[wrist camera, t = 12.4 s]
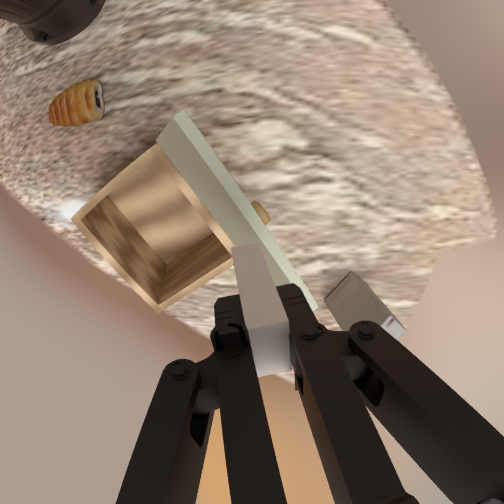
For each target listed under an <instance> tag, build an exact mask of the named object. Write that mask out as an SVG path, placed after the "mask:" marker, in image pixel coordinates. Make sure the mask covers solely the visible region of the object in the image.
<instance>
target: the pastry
mask: <svg viewBox="0 0 504 504" xmlns="http://www.w3.org/2000/svg"><path fill="white" fill-rule="evenodd" d="M103 113H104V103H103V99H102V86H101V84H100V82H98V81H97V80H84V81H82V82H79V83H77V84H75V85H72V86H70V87H69V88H67V89H66V90H64V92H62V93H61V94H60V95H59V96H58V97H57V98H56V99H54V100H53V101H52V103H51V104H50V107H49V117H48V119H49V121H50V122H52V123H53V124H54V125H59V126H65V127H66V126H76V127H78V126H80V125H81V124H85V123H89V122H92V121H94V120H100V119H101V118H102V117H103Z"/></svg>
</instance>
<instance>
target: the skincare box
mask: <svg viewBox="0 0 504 504" xmlns="http://www.w3.org/2000/svg"><path fill="white" fill-rule="evenodd" d="M324 301H325V303H326V305H327V306H328V308H329V310H330V311H331V313H332V314H333V316H334V318H335V319H336V321H337V323H338V324H339V326H340V328H341V329H342V331H349V329H350V327H351V326H352V325H353V324H354V323H356V322H359V321H367V320H368V321H372V322H375V323H377V324H378V325H380V326H381V327H382V328H383V329H385V330H386V331H387V332H388V333H389V334H390V335H392V336H393V337H394V338H395V339H396V340H398V339H399V338H400V337H401V336H402V335H403V334H405V332H407V331H406V329H405V328H404V327H403V326H402V324H401V323H400V322H399V321H398V320H397V318H396V317H395V316H394V315H393V314H392V313H391V311H390V310H389V309H388V308H387V307H386V306H385V304H384V303H383V302H382V301H381V300H380V299H379V298H378V296H377V295H376V294H375V293H374V292H373V291H372V290H371V289H370V287H369V286H368V285H367V284H366V283H365V282H364V281H362V280H361V279H360V278H359V277H358V276H357V275H355V274H354V273H353V272H352V271H351V272H350V273H349V275H348V276H347V277H346V278H345V279H344V280H343V281H342V282H341V283H340V284H339V285H338V286H337V288H336V289H335V290H334V291H333V292H332V293H331V294H330V295H329V296H328V297H327V298H326V299H325V300H324Z"/></svg>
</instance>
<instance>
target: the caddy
mask: <svg viewBox="0 0 504 504" xmlns="http://www.w3.org/2000/svg"><path fill="white" fill-rule="evenodd" d="M71 220H72V221H73V222H74V223H75V224H76V226H77V227H78V228H79V229H80V231H81V232H82V233H83V234H84V235H85V236H86V238H87V239H88V240H89V241H90V242H91V243H92V245H93V246H94V247H95V248H96V249H97V250H98V251H99V253H100V254H101V255H102V256H103V257H104V258H105V259H106V260H107V262H108V263H109V264H110V265H111V266H112V267H113V268H114V269H115V270H116V271H117V272H118V273H119V274H120V276H121V277H122V278H123V279H124V280H125V281H126V282H127V283H128V284H129V285H130V286H131V287H132V288H133V289H134V290H135V291H136V292H137V293H138V294H139V295H140V296H141V297H142V298H143V299H144V300H145V301H146V302H147V303H148V304H149V305H150V306H151V307H152V308H153V309H154V310H155V311H156V312H157V313H159V312H161V311H163V310H164V309H166V308H167V307H169V306H170V305H172V304H174V303H175V302H177V301H178V300H180V299H181V298H183V297H185V296H186V295H188V294H189V293H191V292H192V291H194V290H196V289H197V288H199V287H200V286H202V285H203V284H205V283H206V282H208V281H210V280H211V279H213V278H214V277H216V276H217V275H219V274H221V273H222V272H224V271H225V270H227V269H228V268H230V267H232V266H233V265H234V263H233V258H232V252H231V248H232V247H235V245H234V244H233V243H232V241H231V240H230V239H229V238H228V236H227V235H226V234H225V232H224V231H223V230H222V228H221V227H220V226H219V224H218V223H217V222H216V220H215V219H214V218H213V216H212V215H211V214H210V212H209V211H208V210H207V208H206V207H205V206H204V204H203V203H202V202H201V201H200V199H199V198H198V197H197V195H196V194H195V193H194V191H193V190H192V189H191V187H190V186H189V185H188V183H187V182H186V181H185V179H184V178H183V177H182V175H181V174H180V173H179V171H178V170H177V169H176V167H175V166H174V165H173V163H172V162H171V161H170V159H169V158H168V156H167V155H166V154H165V152H164V151H163V150H162V148H161V147H160V146H159V144H158V143H156V144H155V145H153V146H152V147H151V148H150V149H148V150H147V151H146V152H144V153H143V154H142V155H141V156H139V157H138V158H137V159H136V160H135V161H133V162H132V163H131V164H130V165H129V166H127V167H126V168H125V169H124V170H123V171H121V172H120V173H119V174H118V175H117V176H116V177H115V178H113V179H112V180H111V181H110V182H109V183H108V184H107V185H106V186H104V187H103V188H102V189H101V190H100V191H99V192H98V193H97V194H96V195H95V196H94V197H92V198H91V199H90V200H89V201H88V202H87V203H86V204H85V205H84V206H83V207H82V208H81V209H80V210H79V211H78V212H77V213H76V214H75V215H74V216H73V217H72V218H71Z"/></svg>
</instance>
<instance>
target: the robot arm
mask: <svg viewBox="0 0 504 504" xmlns="http://www.w3.org/2000/svg"><path fill="white" fill-rule="evenodd" d="M104 2H105V0H0V19H4V20H7V21H10V22H14V23H17V24H18V25H19V26H20V28H21V29H22V30H23V32H24V33H25V35H26V36H27V37H28V38H29V39H30V40H32V41H34V42H37V43H40V44H45V45H52V44H57V43H61V42H63V41H66V40H68V39H70V38H72V37H73V36H75V35H76V34H78V33H79V32H81V31H82V30H83V29H84V28H85V27H87V26H88V25H89V24H90V23H91V21H92V20H93V19H94V18H95V17H96V15H97V14H98V13H99V11H100V10H101V8H102V6H103V4H104ZM231 252H232V258H233V263H234V268H235V274H236V279H237V285H238V290H239V294H238V295H232V296H227V297H221V298H218V299H217V301H216V303H215V305H214V313H215V327H214V328H213V330H212V331H211V334H210V338H211V341H212V344H213V348H214V352H213V354H211V355H210V356H209V357H208V358H206V359H204V360H202V361H199V362H197V363H194V362H193V361H191V360H187V359H178V360H175V361H173V362H171V363H169V364H168V365H167V366H166V367H165V369H164V370H163V372H162V375H161V377H160V380H159V383H158V385H157V388H156V390H155V393H154V396H153V398H152V401H151V404H150V406H149V409H148V412H147V415H146V417H145V420H144V423H143V425H142V428H141V431H140V434H139V436H138V439H137V442H136V445H135V448H134V451H133V453H132V457H131V459H130V462H129V465H128V468H127V471H126V474H125V477H124V480H123V483H122V486H121V489H120V492H119V495H118V498H117V501H116V504H195V502H196V498H197V493H198V488H199V483H200V479H201V473H202V469H203V463H204V459H205V454H206V450H207V444H208V440H209V435H210V431H211V426H212V421H213V416H214V410H216V409H218V408H220V414H221V423H222V432H223V441H224V450H225V458H226V466H227V473H228V482H229V489H230V496H231V503H232V504H287V501H286V497H285V493H284V489H283V485H282V481H281V477H280V472H279V468H278V464H277V460H276V456H275V451H274V447H273V443H272V438H271V434H270V430H269V425H268V421H267V417H266V412H265V408H264V403H263V399H262V394H261V390H260V385H259V381H258V377H260V376H265V375H270V374H275V373H279V372H284V371H288V370H292V366H293V369H294V372H295V390H299V394H300V397H301V400H302V403H303V406H304V409H305V412H306V416H307V419H308V422H309V425H310V428H311V431H312V434H313V437H314V440H315V443H316V446H317V449H318V452H319V456H320V459H321V462H322V465H323V468H324V471H325V474H326V477H327V480H328V483H329V487H330V490H331V493H332V496H333V499H334V502H335V504H419V502H418V501H417V499H415V497H414V496H412V495H410V494H408V493H407V492H406V491H405V490H404V488H403V486H402V484H401V482H400V480H399V477H398V475H397V473H396V470H395V468H394V466H393V464H392V462H391V459H390V457H389V455H388V453H387V451H386V449H385V446H384V444H383V442H382V440H381V438H380V436H379V434H378V431H377V429H376V427H375V425H374V423H373V421H372V419H371V417H370V415H369V413H368V410H367V409H366V407H367V408H368V409H369V410H370V411H371V412H372V413H373V415H374V416H375V417H376V418H377V419H378V420H379V421H380V423H381V424H382V425H383V426H384V427H385V428H386V429H387V430H388V432H389V433H390V434H391V435H392V436H393V437H394V438H395V440H396V441H397V442H398V443H399V444H400V445H401V446H402V447H403V449H404V450H405V451H406V452H407V453H408V454H409V455H410V456H411V458H412V459H413V460H414V461H415V462H416V463H417V464H418V465H419V467H420V468H421V469H422V470H423V471H424V472H425V473H426V474H427V475H428V477H429V478H430V479H431V480H432V481H433V482H434V483H435V484H436V485H437V486H438V488H440V490H441V491H442V492H443V493H444V494H445V495H446V496H447V497H448V499H449V500H450V501H452V502H453V503H454V504H504V436H502V434H500V433H499V432H498V431H497V430H496V429H495V428H494V427H493V426H492V425H491V424H490V423H489V422H488V421H487V420H486V419H484V418H483V417H482V416H481V415H480V414H479V413H478V412H477V411H476V410H475V409H474V408H473V407H472V406H470V405H469V404H468V403H467V402H466V401H465V400H464V399H463V398H462V397H460V396H459V395H458V394H457V393H456V392H455V391H454V390H453V389H452V388H450V386H448V385H447V384H446V383H445V382H444V381H443V380H442V379H440V378H439V377H438V376H437V375H436V374H435V373H434V372H433V371H431V369H429V368H428V367H427V366H426V365H425V364H424V363H422V362H421V361H420V360H419V359H418V358H417V357H416V356H415V355H413V354H412V353H411V352H410V351H409V350H408V349H407V348H405V347H404V346H403V345H402V344H401V343H400V342H399V341H397V340H396V339H395V338H394V337H393V336H392V335H390V334H389V333H388V332H387V331H386V330H385V329H383V328H382V327H381V326H380V325H378V324H377V323H375V322H372V321H368V320H367V321H359V322H356V323H354V324H353V325H352V326H351V327H350V329H349V331H331V330H328V329H326V327H325V326H324V325H322V324H320V323H318V321H317V319H316V317H315V315H314V313H313V311H312V309H311V307H310V305H309V303H308V302H307V299H306V297H305V296H304V294H303V292H302V290H301V288H300V287H298V286H297V285H296V284H294V283H290V284H286V285H281V286H276V287H275V284H274V281H273V279H272V276H271V274H270V271H269V269H268V266H267V264H266V261H265V258H264V256H263V253H262V251H261V248H260V246H259V243H254V244H248V245H243V246H237V247H232V248H231ZM365 405H366V406H365Z"/></svg>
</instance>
